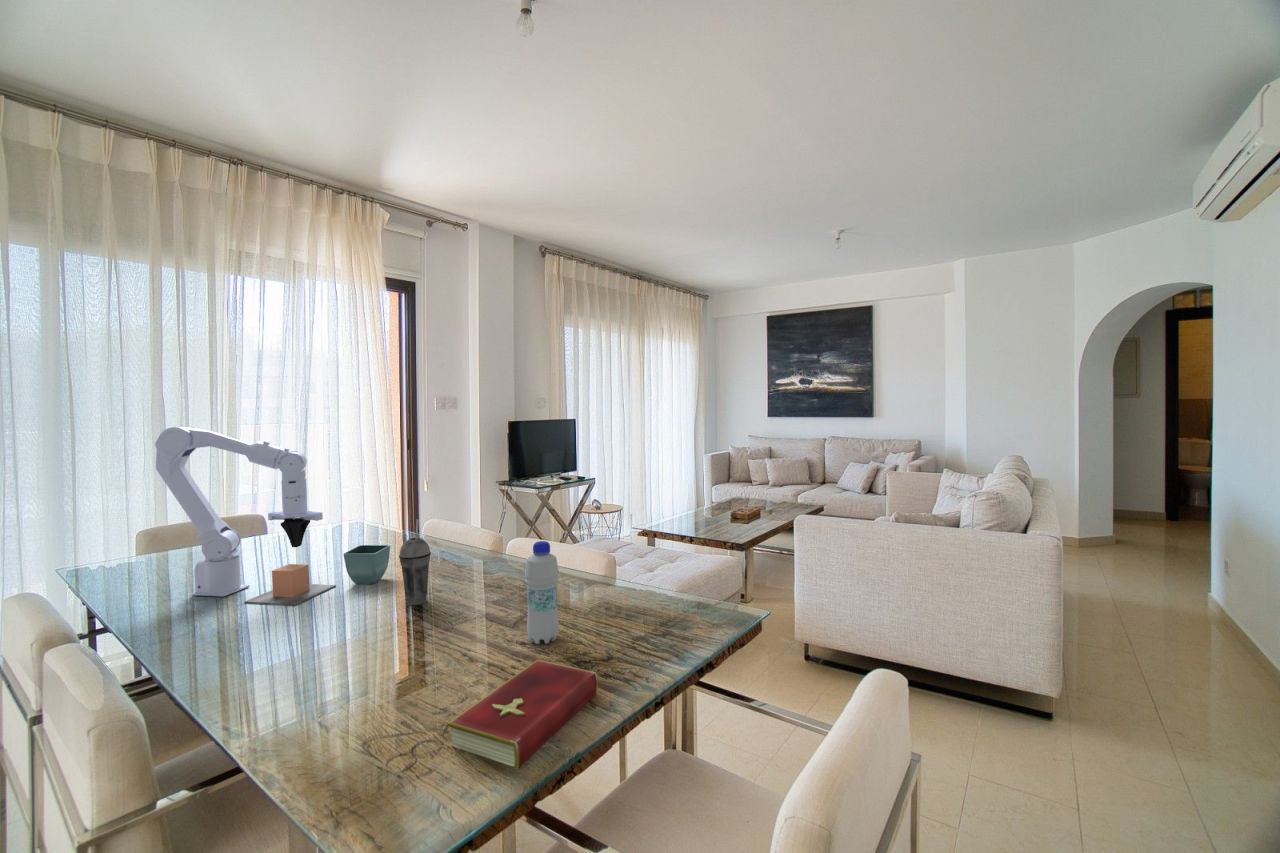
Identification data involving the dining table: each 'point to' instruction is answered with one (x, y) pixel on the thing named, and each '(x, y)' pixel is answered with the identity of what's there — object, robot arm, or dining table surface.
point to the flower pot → (367, 563)
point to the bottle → (542, 594)
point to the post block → (293, 601)
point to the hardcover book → (523, 712)
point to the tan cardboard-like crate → (290, 580)
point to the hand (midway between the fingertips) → (296, 546)
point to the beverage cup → (415, 568)
